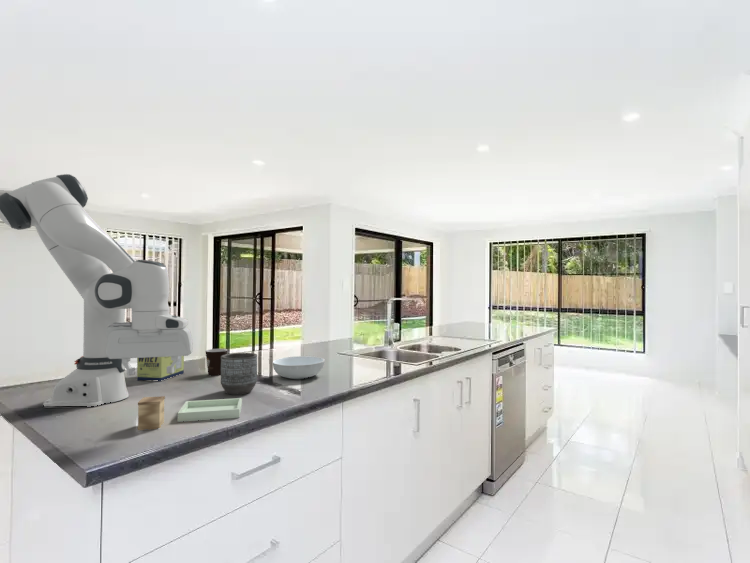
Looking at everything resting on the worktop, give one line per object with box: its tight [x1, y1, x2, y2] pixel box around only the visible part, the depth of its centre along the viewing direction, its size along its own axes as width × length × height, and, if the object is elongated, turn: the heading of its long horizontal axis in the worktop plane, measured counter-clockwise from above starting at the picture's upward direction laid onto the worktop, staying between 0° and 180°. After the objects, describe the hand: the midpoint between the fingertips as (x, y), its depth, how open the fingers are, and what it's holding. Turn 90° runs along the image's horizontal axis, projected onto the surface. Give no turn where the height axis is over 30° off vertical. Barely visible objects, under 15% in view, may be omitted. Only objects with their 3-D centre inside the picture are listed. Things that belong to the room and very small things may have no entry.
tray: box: [177, 397, 243, 423], centre depth 121 cm, size 16×12×2 cm
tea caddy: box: [137, 395, 166, 431], centre depth 110 cm, size 5×5×7 cm
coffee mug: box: [205, 348, 228, 377], centre depth 173 cm, size 12×9×10 cm
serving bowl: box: [272, 355, 326, 380], centre depth 171 cm, size 21×21×7 cm
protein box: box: [136, 356, 185, 382], centre depth 169 cm, size 10×16×16 cm
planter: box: [220, 352, 258, 396], centre depth 146 cm, size 12×12×13 cm
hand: (150, 374), depth 110 cm, fingers open, 8 cm apart
